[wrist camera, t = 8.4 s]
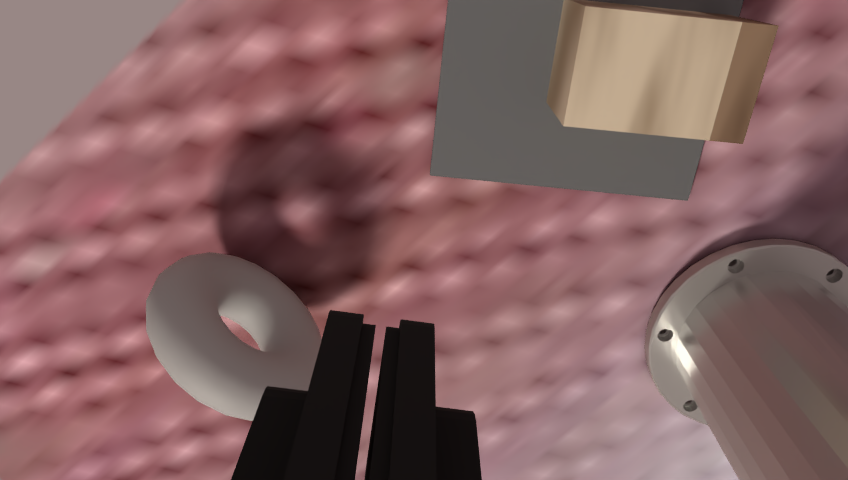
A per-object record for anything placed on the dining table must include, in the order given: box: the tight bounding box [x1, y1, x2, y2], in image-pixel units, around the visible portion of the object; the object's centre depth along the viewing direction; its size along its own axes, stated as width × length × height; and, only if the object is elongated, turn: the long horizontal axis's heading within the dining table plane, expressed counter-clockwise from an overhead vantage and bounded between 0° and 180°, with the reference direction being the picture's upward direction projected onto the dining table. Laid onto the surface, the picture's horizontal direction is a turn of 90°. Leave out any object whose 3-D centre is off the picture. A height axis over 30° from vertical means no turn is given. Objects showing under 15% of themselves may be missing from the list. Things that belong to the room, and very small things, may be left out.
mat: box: [430, 0, 744, 201], centre depth 33 cm, size 14×12×1 cm
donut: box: [146, 252, 322, 421], centre depth 34 cm, size 10×4×10 cm, turn 48°
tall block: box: [546, 0, 778, 144], centre depth 30 cm, size 5×5×8 cm
